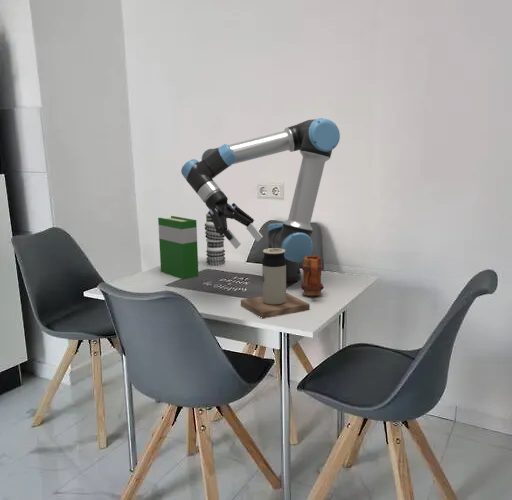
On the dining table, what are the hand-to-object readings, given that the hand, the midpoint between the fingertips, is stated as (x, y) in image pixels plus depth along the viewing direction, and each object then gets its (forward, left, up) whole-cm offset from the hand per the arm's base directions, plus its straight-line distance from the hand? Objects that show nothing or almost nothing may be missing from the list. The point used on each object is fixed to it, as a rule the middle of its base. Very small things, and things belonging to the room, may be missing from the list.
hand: (249, 242), depth 186 cm
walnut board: (-5, +8, -22) cm, 24 cm away
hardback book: (+8, -53, -22) cm, 58 cm away
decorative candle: (-12, -60, -22) cm, 65 cm away
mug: (-23, +4, -22) cm, 32 cm away
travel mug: (-5, +8, -20) cm, 22 cm away
